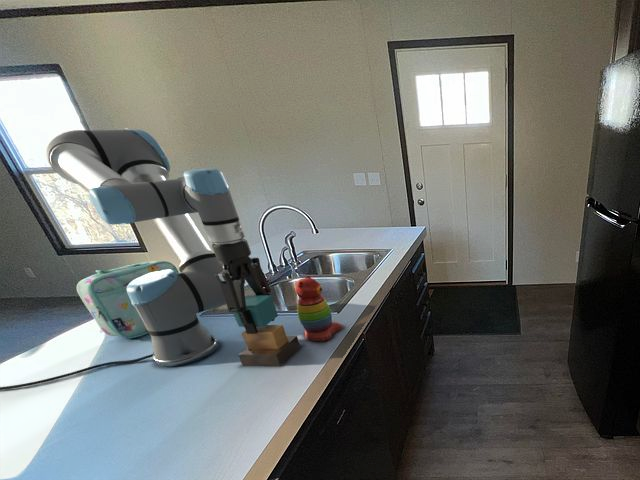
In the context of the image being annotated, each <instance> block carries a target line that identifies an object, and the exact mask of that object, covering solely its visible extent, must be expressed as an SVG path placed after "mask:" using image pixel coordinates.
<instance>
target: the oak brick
mask: <svg viewBox="0 0 640 480" xmlns="http://www.w3.org/2000/svg"><path fill="white" fill-rule="evenodd" d="M256 328H257V331H258V333H257V334H247V333H246V330H245V329H244V330H243V331H242V332H241V335H242V338H243V340H244V343H245V345H246V348H248V349H280V348H281V347H282V346H283V345H284V344H285V343H286V342H287V341H288V339H287V336H288V335H287V333H286V331H285V327H284V325H283V324H267V325H266V326H264V327H256Z"/></svg>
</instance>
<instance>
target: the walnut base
mask: <svg viewBox="0 0 640 480" xmlns="http://www.w3.org/2000/svg"><path fill="white" fill-rule="evenodd" d="M286 336H287V339H288V341H287V342H286V343H285V344H284V345H283V346H282V347H281V348H280V349H248V348H247V347H245V348H244V349H243V350H242V351H240V352H239V353H238V354H237V356H238V358H239V360H240V363H241V365H242V367H243V366H244V367H281V366H282V365H283V364H284V363H285V362H286V361H287V360H288V359H290V357H291V356H292V355H293V354H295V352H297V351H298V349H300V348H301V343H300V341H299V338H298V335H286Z"/></svg>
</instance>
